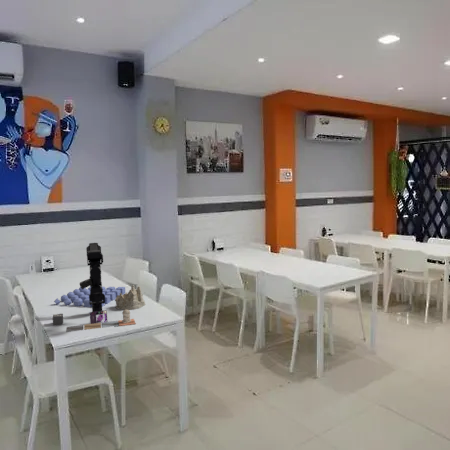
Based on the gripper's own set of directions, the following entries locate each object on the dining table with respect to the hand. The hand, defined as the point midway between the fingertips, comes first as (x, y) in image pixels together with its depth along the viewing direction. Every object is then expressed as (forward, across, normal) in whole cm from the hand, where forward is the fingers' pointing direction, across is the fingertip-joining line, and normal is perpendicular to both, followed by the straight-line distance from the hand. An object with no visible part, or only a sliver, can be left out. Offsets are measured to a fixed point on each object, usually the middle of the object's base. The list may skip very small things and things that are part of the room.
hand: (97, 302), depth 233 cm
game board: (+12, +5, +2) cm, 13 cm away
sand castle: (+12, -27, +20) cm, 36 cm away
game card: (+12, -2, 0) cm, 12 cm away
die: (+12, -7, -21) cm, 25 cm away
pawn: (+12, +5, +15) cm, 20 cm away
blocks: (+13, -55, -4) cm, 57 cm away
